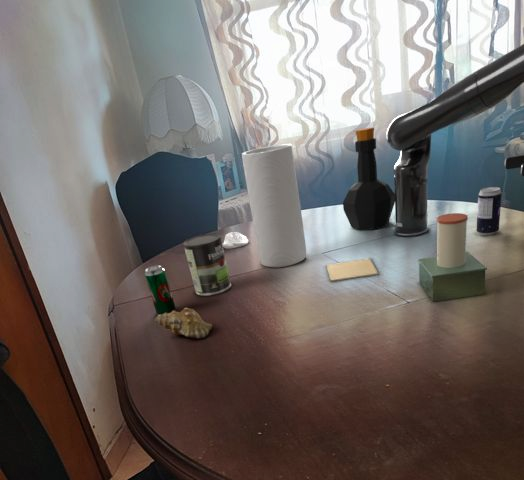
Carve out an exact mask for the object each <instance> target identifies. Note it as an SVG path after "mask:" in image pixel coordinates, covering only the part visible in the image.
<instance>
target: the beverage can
mask: <svg viewBox="0 0 524 480" xmlns="http://www.w3.org/2000/svg"><path fill="white" fill-rule="evenodd" d="M502 193H503V192H502V191H501V187H497V186H490V187H489V186H488V187H484V188H483V187H482V188H480V189H479V193H478V195H477V210H476V211H477V213H476V229H475V230H476V232H477V233H478V234H479V235H481V236H493V235H495V234H496V233H497V232H498V231H499V230H500V221H501V207H502Z"/></svg>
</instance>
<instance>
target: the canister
mask: <svg viewBox="0 0 524 480" xmlns="http://www.w3.org/2000/svg"><path fill="white" fill-rule="evenodd" d="M468 219H469V217H468V215H467V214H466V213H460V212H459V213H458V212H454V213H445V214H441V215H439V216H437V217H436V223H437V224H436V225H437V227H436V228H437V229H436V231H437V232H436V257H437V265H438V266H440V267H443V268H455V267H460V266H462V265H464V264H465V252H466V247H467V244H466V243H467V224H468V223H467V221H468Z"/></svg>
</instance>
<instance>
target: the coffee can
mask: <svg viewBox="0 0 524 480" xmlns="http://www.w3.org/2000/svg"><path fill="white" fill-rule="evenodd" d="M222 244H223V241H222V235H221V234H219V233H206V234H200V235H196V236H192V237H191V238H188V239H186V240H184V241H183V242H182V247H183V248H184V251H185V252H184V253H185V256H186V260H187V264H188V268H189V272H190V274H191V279H192V283H193V287H194V292H195V294H196V295H198V296H200V297H201V296H202V297H207V296H214V295H215V296H216V295H219V294H222V293H225V292H226V291H228V290H229V289H230V288H231V287H232V283H231V278H230V275H229V270H228V264H227V260H226V254H225V250H224V247H223V245H222Z"/></svg>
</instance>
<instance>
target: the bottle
mask: <svg viewBox="0 0 524 480" xmlns="http://www.w3.org/2000/svg"><path fill="white" fill-rule="evenodd" d="M374 135H375V127H371V126H370V127H364V128H359V129H356V130H355V136H356V141H355V142H354V145H355V148H354V149H355V152H356V153H357V164H356V165H357V180H358V181H357V182H355V183H353V184H352V185H351V187H350V188H349V190H348V191H347V193H346V196H345V198H344V200H343V202H342V208H343V212H344V214H345V216H346V219H347V221H348V222H349V225H350V227H351V228H352V229H354V230H358V231H368V230H369V231H370V230H377V229H380V228H384V227H387V225H388V223H389V222H390V219H391V216H392V214H393V213H392V212H393V210H394V208H395V191H394V190H393V189H392V188H391V186H390V185H389V184H388V183H386V182H385V181H382V180H380V179H378V169H377V167H378V166H377V165H378V164H377V160H376V153H375V150H376V149H377V138H376V137H374Z"/></svg>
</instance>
